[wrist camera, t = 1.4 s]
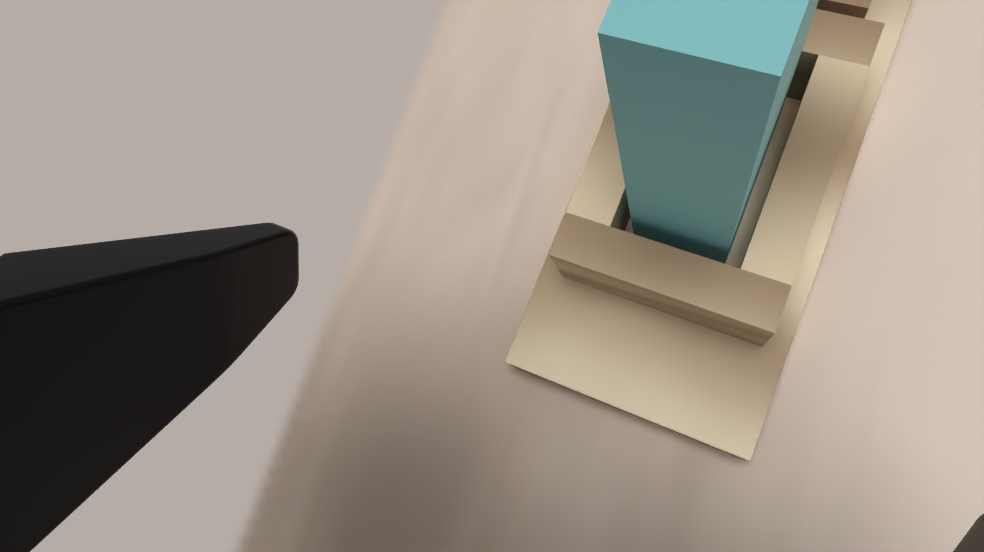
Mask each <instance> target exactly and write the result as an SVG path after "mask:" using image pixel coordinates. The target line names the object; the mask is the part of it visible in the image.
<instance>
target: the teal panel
mask: <svg viewBox="0 0 984 552" xmlns="http://www.w3.org/2000/svg"><path fill="white" fill-rule="evenodd" d="M817 3H818V0H611V2H610V4H609V7H608V9H607V11H606V14H605V16H604V19H603V21H602V24H601V26H600V28H599V31H598V37H599V42H600V48H601V53H602V59H603V65H604V70H605V76H606V82H607V87H608V93H609V98H610V104H611V110H612V115H613V121H614V126H615V132H616V138H617V143H618V149H619V155H620V160H621V166H622V171H623V177H624V183H625V188H626V194H627V199H628V205H629V211H630V216H631V222H632V228H633V233H634V234H635V235H638V236H641V237H644V238H647V239H650V240H653V241H656V242H660V243H663V244H666V245H669V246H672V247H675V248H678V249H681V250H684V251H687V252H690V253H693V254H696V255H700V256H703V257H706V258H709V259H712V260H715V261H718V262H721V263H724V264H725V263H726V261H727V258H728V255H729V252H730V250H731V247H732V244H733V242H734V239H735V236H736V233H737V231H738V228H739V225H740V223H741V220H742V217H743V214H744V212H745V209H746V206H747V204H748V201H749V198H750V195H751V193H752V190H753V187H754V185H755V182H756V179H757V176H758V174H759V171H760V168H761V166H762V163H763V160H764V157H765V155H766V152H767V149H768V147H769V144H770V141H771V138H772V136H773V133H774V130H775V128H776V125H777V122H778V119H779V117H780V114H781V111H782V108H783V105H784V102H785V99H786V96H787V93H788V90H789V87H790V84H791V81H792V78H793V75H794V72H795V69H796V66H797V63H798V60H799V57H800V54H801V51H802V48H803V45H804V42H805V39H806V36H807V33H808V30H809V27H810V24H811V21H812V18H813V15H814V12H815V9H816V6H817Z"/></svg>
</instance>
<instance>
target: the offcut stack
mask: <svg viewBox="0 0 984 552" xmlns="http://www.w3.org/2000/svg"><path fill="white" fill-rule="evenodd" d="M871 1H872V0H818V3H817V6H816V9H819V10H824V11H829V12H834V13H839V14H843V15H848V16H853V17H858V18H863V19H864V18H865V16H866V14H867V11H868V9H869V7H870V4H871Z"/></svg>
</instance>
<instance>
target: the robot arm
mask: <svg viewBox="0 0 984 552" xmlns="http://www.w3.org/2000/svg"><path fill="white" fill-rule="evenodd" d="M298 263H299V258H298V238H297V236H296V234H295V233H294V232H293V231H292V230H289V229H287V228H284V227H282V226H279V225H277V224H274V223H260V224H252V225H243V226H236V227H227V228H218V229H209V230H201V231H192V232H184V233H175V234H167V235H159V236H150V237H142V238H133V239H125V240H117V241H107V242H99V243H91V244H82V245H73V246H65V247H57V248H48V249H39V250H31V251H22V252H14V253H5V254H3V255H2V256H0V552H30V551H31V550H32V549H33V548H34V547H35V546H36V545H38V544H39V543H40V542H41V541H42V540H43V539H44V538H45V537H46V536H47V535H48V534H49V533H51V532H52V530H54V529H55V528H56V527H57V526H58V525H59V524H60V523H61V522H62V521H64V520H65V519H66V518H67V517H68V516H69V515H70V514H71V513H72V512H73V511H74V510H75V509H77V508H78V507H79V506H80V505H81V504H82V503H83V502H84V501H85V500H86V499H87V498H88V497H89V496H91V495H92V494H93V493H94V492H95V491H96V490H97V489H98V488H99V487H100V486H101V485H102V484H104V483H105V482H106V481H107V480H108V479H109V478H110V477H111V476H112V475H113V474H114V473H116V472H117V471H118V469H120V468H121V467H122V466H123V465H124V464H125V463H126V462H127V461H129V460H130V459H131V458H132V457H133V456H134V455H135V454H136V453H137V452H138V451H139V450H140V449H142V448H143V447H144V446H145V445H146V444H147V443H148V442H149V441H150V440H151V439H152V438H153V437H155V436H156V435H157V434H158V433H159V432H160V431H161V430H162V429H163V428H164V427H165V426H166V425H168V423H170V422H171V421H172V420H173V419H174V418H175V417H176V416H177V415H178V414H179V413H181V411H183V410H184V409H185V408H186V407H187V406H188V405H189V404H190V403H191V402H192V401H193V400H195V399H196V398H197V397H198V396H199V395H200V394H201V393H202V392H203V391H204V390H205V389H207V388H208V387H209V386H210V385H211V384H212V383H213V382H214V381H215V380H216V379H217V378H218V377H219V376H220V375H222V374H223V373H224V372H225V371H226V370H227V368H229V366H231V365H232V363H233V362H234V361H235V360H236V359H237V358H238V357H239V356H240V355H241V354H242V353H243V351H244V350H245V349H246V348H247V347H248V345H250V344H251V342H252V341H253V340H254V339H255V338H256V337H257V336H258V334H259V333H260V332H261V331H262V330H263V329H264V328H265V327H266V325H267V324H268V323H269V322H270V321H271V320H272V318H273V317H274V316H275V315H276V314H277V313H278V312H279V311H280V310H281V308H282V307H283V306H284V305H285V304H286V302H287V301H288V300H289V299H290V298H291V297H292V296H293V294H294V292H295V291H296V288H297V285H298V280H299V279H298V278H299V266H298V265H299V264H298ZM953 552H984V514H983V515H981V516H980V517H979V518H978V519H977V520H976V522H975V523H974V524H973V526H972V527H971V528H970V530H969V531H968V532H967V534H966V535H965V536H964V538H963V539H962V540H961V542H960V543H959V544H958V546H957V547H956V548H955V550H954V551H953Z"/></svg>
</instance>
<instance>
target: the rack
mask: <svg viewBox="0 0 984 552" xmlns="http://www.w3.org/2000/svg"><path fill="white" fill-rule="evenodd" d="M911 1H912V0H872V1H871V4H870V7H869V9H868V11H867V14H866V16H865V18H864V19H863V18H858V17H853V16H848V15H843V14H839V13H834V12H829V11H824V10H819V9H815V12H814V15H813V18H812V21H811V24H810V27H809V30H808V33H807V36H806V39H805V42H804V45H803V48H802V51H801V54H800V57H799V60H798V63H797V66H796V69H795V72H794V75H793V78H792V81H791V84H790V87H789V90H788V93H787V96H786V99H785V102H784V105H783V108H782V111H781V114H780V117H779V119H778V122H777V125H776V128H775V130H774V133H773V136H772V138H771V141H770V144H769V147H768V149H767V152H766V155H765V157H764V160H763V163H762V166H761V168H760V171H759V174H758V176H757V179H756V182H755V185H754V187H753V190H752V193H751V195H750V198H749V201H748V204H747V206H746V209H745V212H744V214H743V217H742V220H741V223H740V225H739V228H738V231H737V233H736V236H735V239H734V242H733V244H732V247H731V250H730V252H729V255H728V258H727V261H726V263H725V264H724V263H721V262H718V261H715V260H712V259H709V258H706V257H703V256H700V255H696V254H693V253H690V252H687V251H684V250H681V249H678V248H675V247H672V246H669V245H666V244H663V243H660V242H656V241H653V240H650V239H647V238H644V237H641V236H638V235H635V234H634V233H633V228H632V222H631V216H630V211H629V205H628V199H627V194H626V188H625V183H624V177H623V171H622V166H621V160H620V155H619V149H618V143H617V138H616V132H615V126H614V121H613V115H612V110H611V104H610V101H609V104H608V106H607V109H606V111H605V114H604V116H603V119H602V121H601V124H600V126H599V129H598V131H597V134H596V136H595V139H594V141H593V144H592V146H591V149H590V151H589V154H588V156H587V159H586V161H585V164H584V166H583V169H582V171H581V174H580V176H579V179H578V181H577V184H576V186H575V189H574V191H573V194H572V196H571V199H570V201H569V203H568V206H567V208H566V211H565V213H564V216H563V218H562V221H561V223H560V226H559V228H558V231H557V233H556V236H555V238H554V241H553V243H552V246H551V248H550V251H549V253H548V256H547V258H546V261H545V263H544V266H543V268H542V271H541V273H540V276H539V278H538V281H537V283H536V286H535V288H534V291H533V293H532V296H531V298H530V301H529V303H528V305H527V308H526V310H525V313H524V315H523V318H522V320H521V323H520V325H519V328H518V330H517V333H516V335H515V338H514V340H513V343H512V345H511V348H510V350H509V353H508V355H507V358H506V360H505V362H506V363H508V364H510V365H512V366H515V367H517V368H520V369H522V370H525V371H527V372H529V373H532V374H534V375H537V376H539V377H542V378H544V379H547V380H549V381H552V382H554V383H557V384H559V385H562V386H564V387H567V388H569V389H571V390H574V391H576V392H579V393H581V394H584V395H586V396H589V397H591V398H594V399H596V400H599V401H601V402H604V403H606V404H608V405H611V406H613V407H616V408H618V409H621V410H623V411H626V412H628V413H631V414H633V415H636V416H638V417H641V418H643V419H646V420H648V421H650V422H653V423H655V424H658V425H660V426H663V427H665V428H668V429H670V430H673V431H675V432H678V433H680V434H683V435H685V436H688V437H690V438H692V439H695V440H697V441H700V442H702V443H705V444H707V445H710V446H712V447H715V448H717V449H720V450H722V451H725V452H727V453H730V454H732V455H734V456H737V457H739V458H742V459H744V460H748V461H750V460H751V457H752V454H753V451H754V449H755V446H756V443H757V440H758V437H759V434H760V432H761V429H762V426H763V423H764V420H765V417H766V414H767V412H768V409H769V406H770V403H771V400H772V397H773V395H774V392H775V389H776V386H777V383H778V380H779V377H780V375H781V372H782V369H783V366H784V363H785V360H786V357H787V355H788V352H789V349H790V346H791V343H792V340H793V338H794V335H795V332H796V329H797V326H798V323H799V320H800V318H801V315H802V312H803V309H804V306H805V303H806V301H807V298H808V295H809V292H810V289H811V286H812V283H813V281H814V278H815V275H816V272H817V269H818V266H819V263H820V261H821V258H822V255H823V252H824V249H825V246H826V244H827V241H828V238H829V235H830V232H831V229H832V226H833V224H834V221H835V218H836V215H837V212H838V209H839V207H840V204H841V201H842V198H843V195H844V192H845V189H846V187H847V184H848V181H849V178H850V175H851V172H852V169H853V167H854V164H855V161H856V158H857V155H858V152H859V150H860V147H861V144H862V141H863V138H864V135H865V132H866V130H867V127H868V124H869V121H870V118H871V115H872V113H873V110H874V107H875V104H876V101H877V98H878V95H879V93H880V90H881V87H882V84H883V81H884V78H885V76H886V73H887V70H888V67H889V64H890V61H891V58H892V56H893V53H894V50H895V47H896V44H897V41H898V38H899V36H900V33H901V30H902V27H903V24H904V21H905V19H906V16H907V13H908V10H909V7H910V4H911Z"/></svg>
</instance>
